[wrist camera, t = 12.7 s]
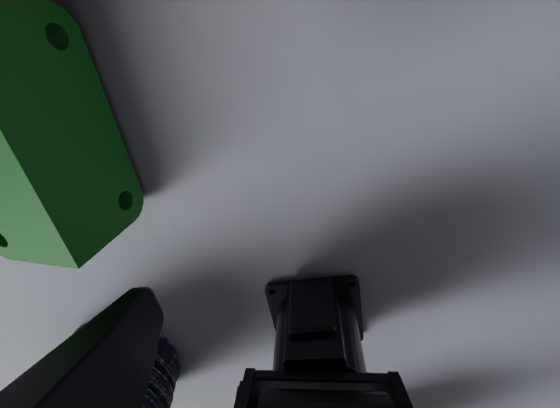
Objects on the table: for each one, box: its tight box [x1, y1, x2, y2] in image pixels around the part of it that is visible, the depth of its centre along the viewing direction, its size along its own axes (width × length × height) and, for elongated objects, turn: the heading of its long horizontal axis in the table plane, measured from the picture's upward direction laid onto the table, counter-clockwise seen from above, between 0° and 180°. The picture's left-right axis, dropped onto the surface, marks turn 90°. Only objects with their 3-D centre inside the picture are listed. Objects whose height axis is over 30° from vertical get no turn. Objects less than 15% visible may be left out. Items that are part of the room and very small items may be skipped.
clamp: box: [0, 0, 143, 269], centre depth 16 cm, size 12×6×9 cm, turn 2°
